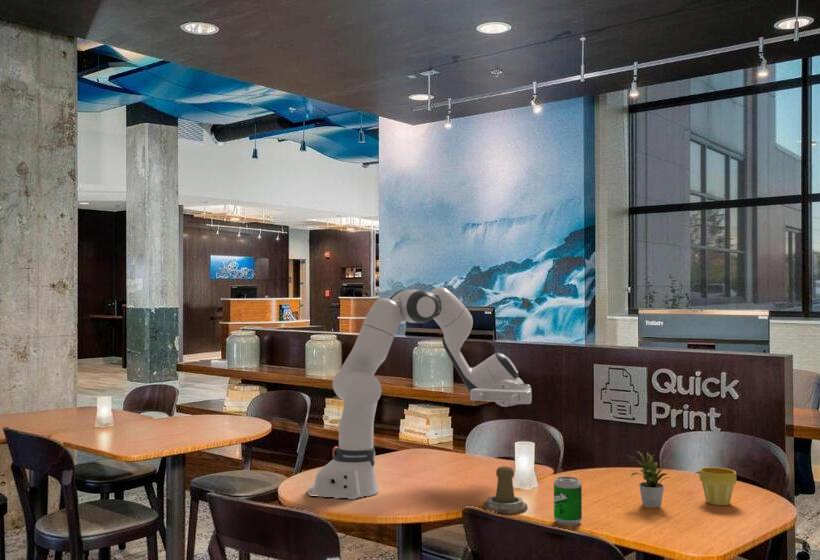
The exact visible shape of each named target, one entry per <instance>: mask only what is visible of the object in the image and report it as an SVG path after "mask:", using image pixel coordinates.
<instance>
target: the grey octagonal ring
mask: <svg viewBox="0 0 820 560" xmlns="http://www.w3.org/2000/svg"><path fill="white" fill-rule="evenodd" d="M514 498H515V503H498V502H495V499H496V495H493V496H489V497H487V500H486V501H484V502H483V503H482V508H484V509H487V510H490V511H494V512H497V513H502V514H501V515H516V514H515V513H519V514H521V513H520V512H523V513H525V512H527V511H528V504H527V503H526V502H524V501H523V498H522V497H521V496H520V497H519V496H515V495H514ZM484 509H483V510H484ZM526 510H527V511H526ZM524 511H525V512H524Z"/></svg>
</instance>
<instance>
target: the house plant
mask: <svg viewBox="0 0 820 560" xmlns="http://www.w3.org/2000/svg"><path fill="white" fill-rule="evenodd" d="M637 453H638V454H639V455H640V457H641V461H639V460H638V459H637V458H635V457H634V456H631V455H630V457H631V460H633V461H634V462H637V463H638V465H639V466H641V469H639V471H640V472H641V473H642V474H641V473H639V472H635V471H633V470H631V469H630V471H631V472H633V473H632V474H630V477H632V476H634V475H641V476H642V477H643V482H639V485H638V486H639V491H640V492H639V493H640V496H641V502H642V506H643V505H644V506H647V507H646V508H648V507H659V508H661V507H662V502H663V495H664V487H665V485H664V484H662V483H661V482H662V481H663V480H665V479H668V478H669V479H672V477H671V476H668V477H664V476H666V475H669V474H668V473H665V472H663V468H662V467H663V466H664V464H665V462H666V460H667V458H665V459H664V460H663V461H662V463H661V464H660V466H659V468H658V462H654V457H655V453H656V452H654V454H653V455H651V454H649V452H647V453H646V459H645V456H644V455H643V453H641V452H639V451H637ZM625 456H626V457H628V455H627V454H626V455H625ZM632 458H634V459H635V460H634V459H632ZM673 461H674V459H673V460H671V462H673ZM668 463H670V461H667V464H668ZM661 472H663V473H661ZM663 477H664V478H663ZM644 506H643V507H644ZM660 506H661V507H660Z"/></svg>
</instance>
